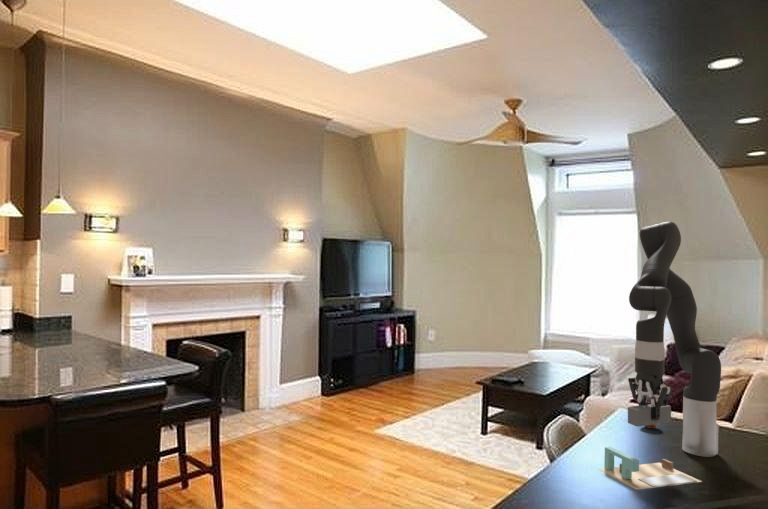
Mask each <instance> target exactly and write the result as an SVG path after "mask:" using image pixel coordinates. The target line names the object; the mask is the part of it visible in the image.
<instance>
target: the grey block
mask: <svg viewBox="0 0 768 509" xmlns="http://www.w3.org/2000/svg"><path fill="white" fill-rule="evenodd" d="M651 407H652V405H651V403H649V404H648V403H647V405H640V406H639V405H634V406H633V405H632V406H627V423H628V424H630V425H633V426H635V427H645V426H646V425H653V424H659V425H660V424H667V423H668V424H669V423H672V406H671V405H668V404H667V406H661V407H660V418H659V420H656V421H653V420H651Z"/></svg>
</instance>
